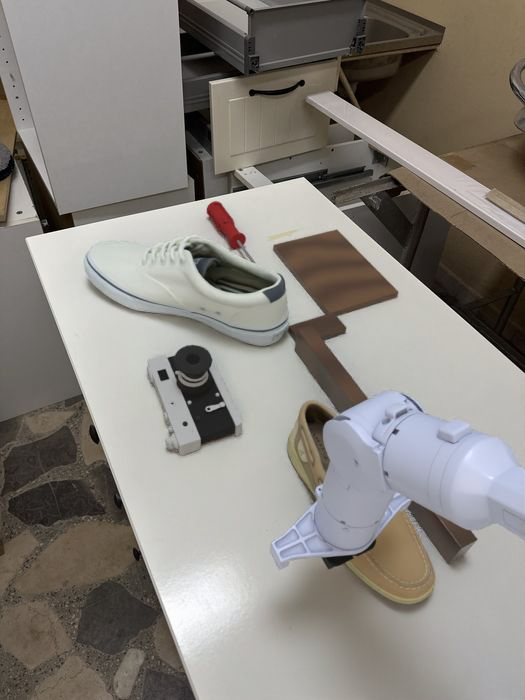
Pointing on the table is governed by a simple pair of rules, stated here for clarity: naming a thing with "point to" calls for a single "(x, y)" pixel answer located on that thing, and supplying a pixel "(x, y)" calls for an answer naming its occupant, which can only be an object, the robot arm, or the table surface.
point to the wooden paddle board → (335, 299)
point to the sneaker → (193, 285)
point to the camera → (193, 399)
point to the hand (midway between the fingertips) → (328, 558)
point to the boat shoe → (395, 539)
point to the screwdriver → (227, 226)
